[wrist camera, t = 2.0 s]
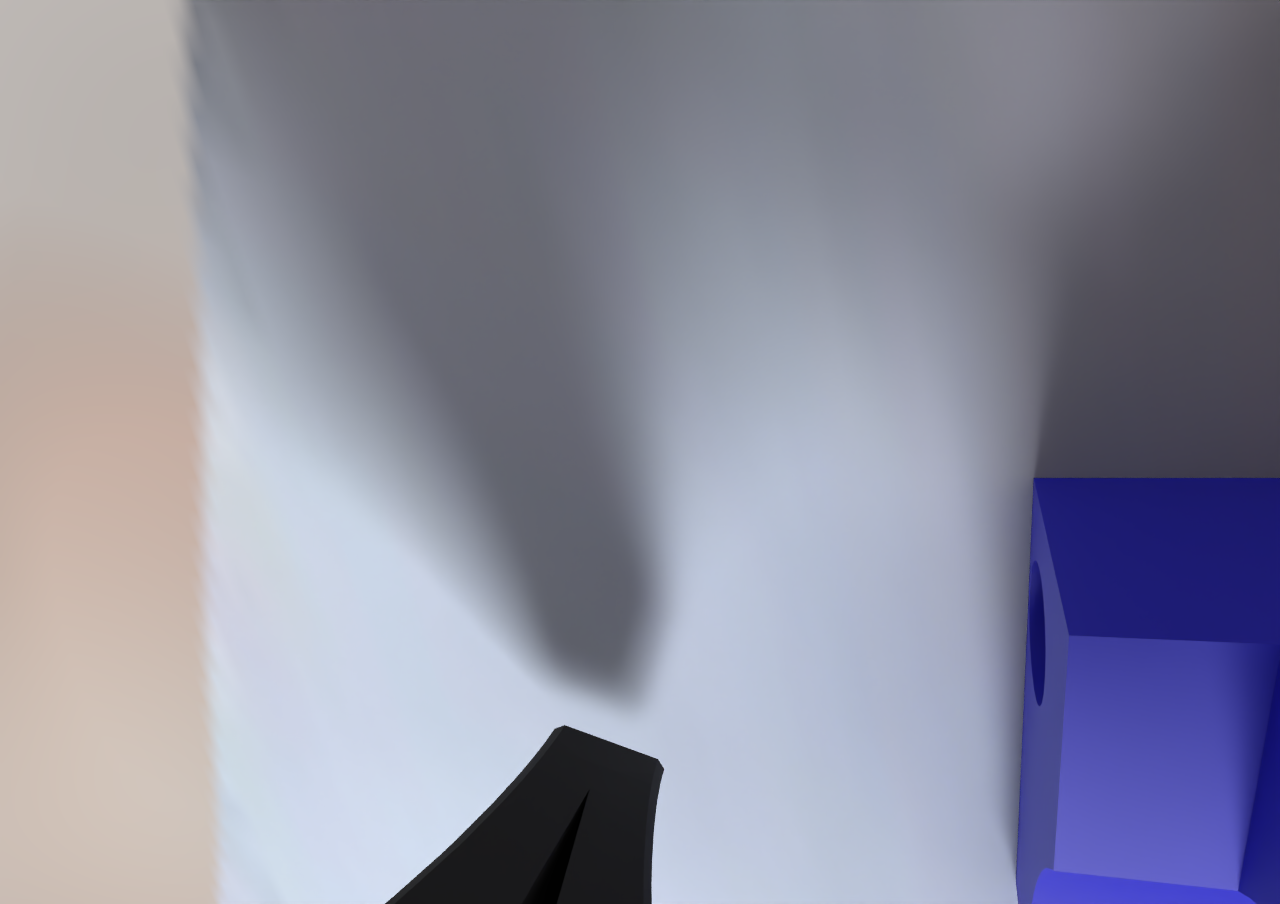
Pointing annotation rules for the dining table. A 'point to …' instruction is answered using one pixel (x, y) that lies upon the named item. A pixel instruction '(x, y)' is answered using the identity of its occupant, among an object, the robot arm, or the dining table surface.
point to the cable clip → (1152, 693)
